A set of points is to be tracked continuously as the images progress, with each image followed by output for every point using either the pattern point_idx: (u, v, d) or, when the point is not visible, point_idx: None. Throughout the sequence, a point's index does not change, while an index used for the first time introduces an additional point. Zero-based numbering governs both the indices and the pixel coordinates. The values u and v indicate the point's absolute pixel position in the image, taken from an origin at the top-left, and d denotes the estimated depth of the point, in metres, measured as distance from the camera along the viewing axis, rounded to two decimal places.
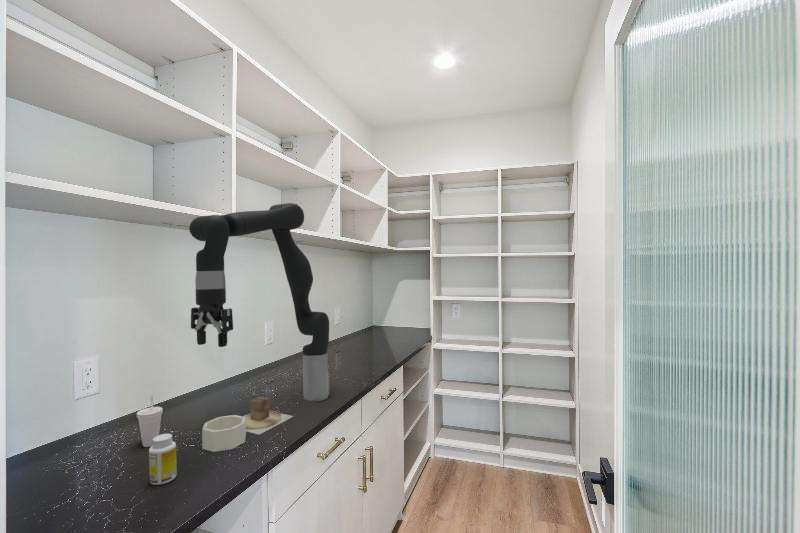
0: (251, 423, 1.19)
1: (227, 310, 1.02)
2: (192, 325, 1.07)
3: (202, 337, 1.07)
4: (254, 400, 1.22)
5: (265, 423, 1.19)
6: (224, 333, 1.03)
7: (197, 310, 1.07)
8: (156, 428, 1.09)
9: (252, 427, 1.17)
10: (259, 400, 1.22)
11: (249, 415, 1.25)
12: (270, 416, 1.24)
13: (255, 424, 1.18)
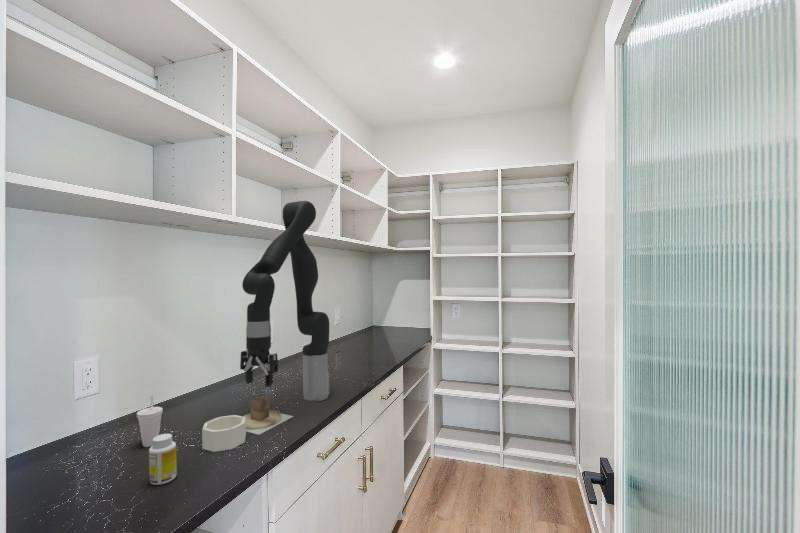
0: (251, 423, 1.19)
1: (273, 355, 1.20)
2: (241, 366, 1.25)
3: (250, 377, 1.25)
4: (254, 400, 1.22)
5: (265, 423, 1.19)
6: (270, 375, 1.20)
7: (246, 353, 1.25)
8: (156, 428, 1.09)
9: (252, 427, 1.17)
10: (259, 400, 1.22)
11: (249, 415, 1.25)
12: (270, 416, 1.24)
13: (255, 424, 1.18)
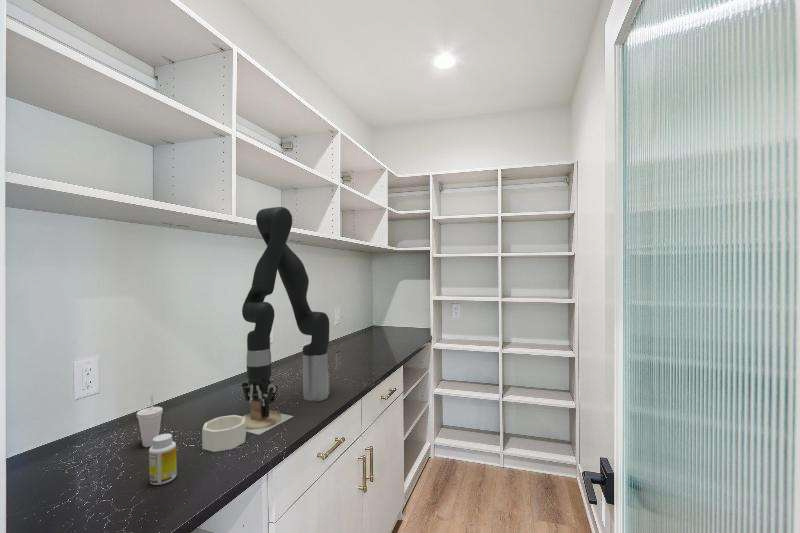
0: (251, 423, 1.19)
1: (274, 388, 1.20)
2: (247, 398, 1.24)
3: None
4: (254, 400, 1.22)
5: (265, 423, 1.19)
6: (267, 405, 1.21)
7: (247, 383, 1.25)
8: (156, 428, 1.09)
9: (252, 427, 1.17)
10: (259, 400, 1.22)
11: (249, 415, 1.25)
12: (270, 416, 1.24)
13: (255, 424, 1.18)
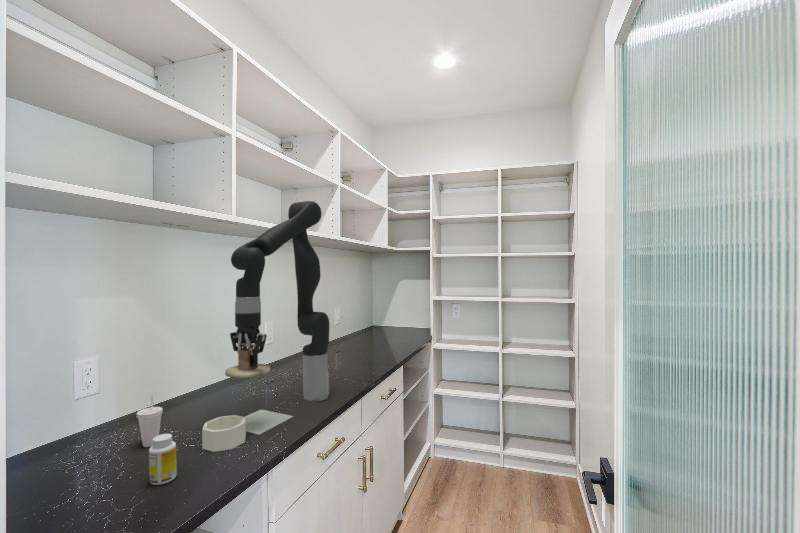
0: (238, 372, 1.14)
1: (263, 336, 1.16)
2: (235, 348, 1.19)
3: None
4: (242, 350, 1.18)
5: (253, 372, 1.14)
6: (255, 355, 1.17)
7: (235, 333, 1.20)
8: (156, 428, 1.09)
9: (239, 375, 1.12)
10: (247, 350, 1.18)
11: (237, 367, 1.21)
12: (259, 367, 1.19)
13: (242, 373, 1.13)
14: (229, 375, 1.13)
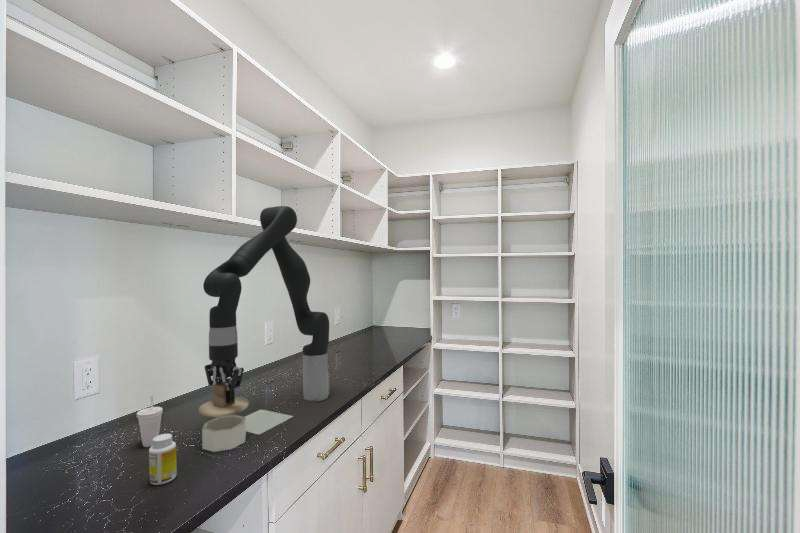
0: (213, 410, 1.04)
1: (239, 371, 1.06)
2: (210, 382, 1.10)
3: None
4: (217, 384, 1.08)
5: (229, 410, 1.04)
6: (231, 390, 1.07)
7: (210, 366, 1.11)
8: (156, 428, 1.09)
9: (213, 414, 1.02)
10: (223, 384, 1.08)
11: (213, 402, 1.11)
12: (236, 403, 1.10)
13: (217, 411, 1.04)
14: (202, 414, 1.03)
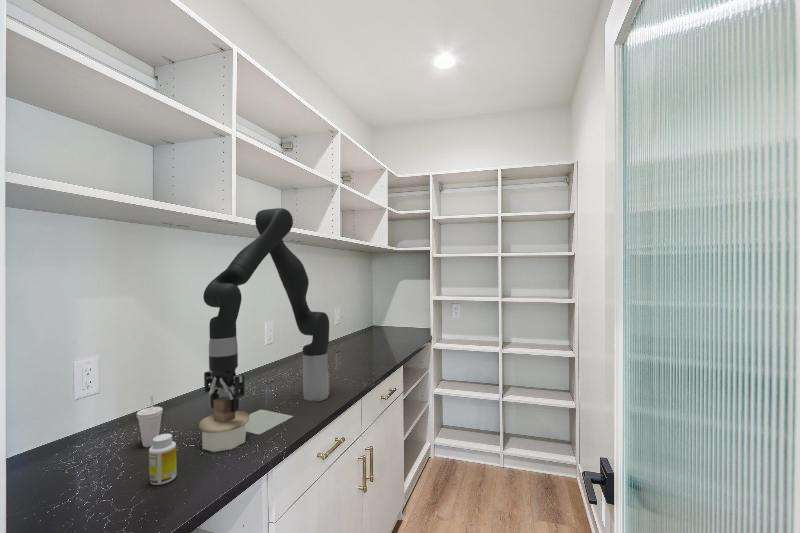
0: (213, 425, 1.04)
1: (240, 377, 1.06)
2: (206, 389, 1.10)
3: None
4: (218, 399, 1.08)
5: (229, 425, 1.04)
6: (236, 399, 1.06)
7: (210, 374, 1.11)
8: (156, 428, 1.09)
9: (213, 430, 1.02)
10: (223, 399, 1.08)
11: (213, 416, 1.11)
12: (236, 417, 1.10)
13: (217, 427, 1.04)
14: (203, 430, 1.03)
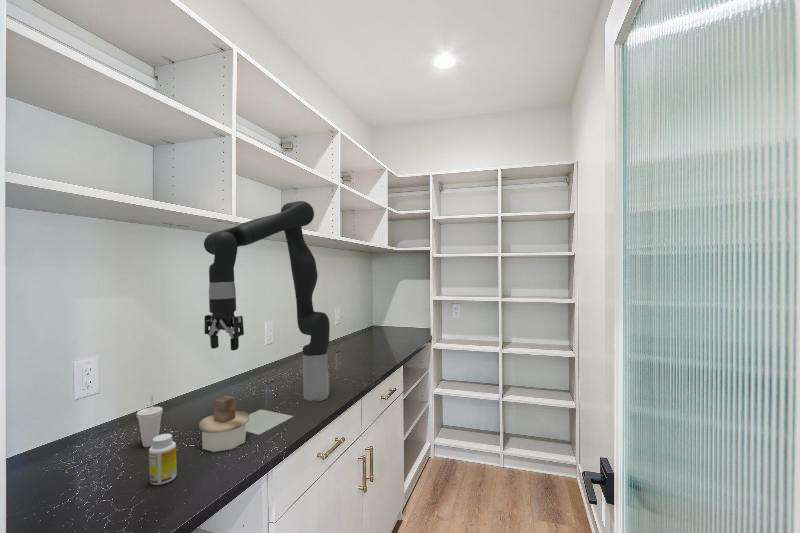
0: (213, 425, 1.04)
1: (238, 317, 1.14)
2: (206, 331, 1.18)
3: (215, 341, 1.19)
4: (218, 399, 1.08)
5: (229, 425, 1.04)
6: (236, 338, 1.14)
7: (210, 317, 1.19)
8: (156, 428, 1.09)
9: (213, 430, 1.02)
10: (223, 399, 1.08)
11: (213, 416, 1.11)
12: (236, 417, 1.10)
13: (217, 427, 1.04)
14: (203, 430, 1.03)
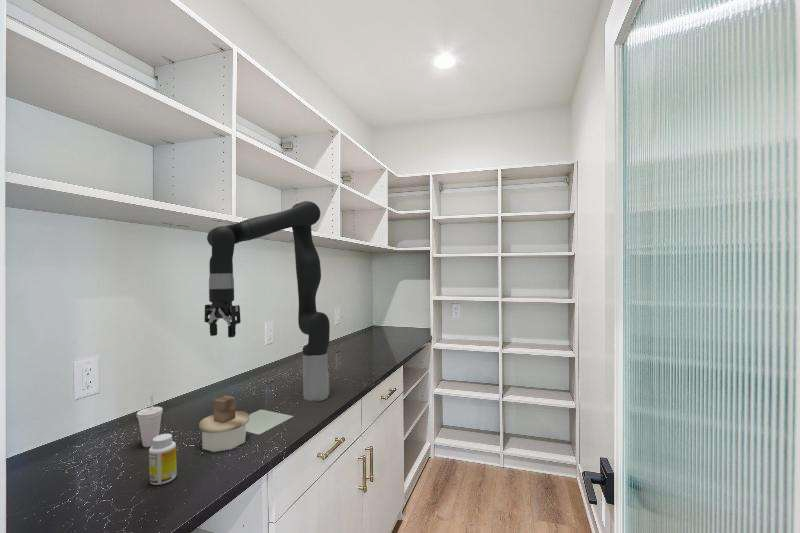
0: (213, 425, 1.04)
1: (235, 306, 1.22)
2: (205, 319, 1.26)
3: (214, 329, 1.27)
4: (218, 399, 1.08)
5: (229, 425, 1.04)
6: (233, 326, 1.22)
7: (210, 306, 1.27)
8: (156, 428, 1.09)
9: (213, 430, 1.02)
10: (223, 399, 1.08)
11: (213, 416, 1.11)
12: (236, 417, 1.10)
13: (217, 427, 1.04)
14: (203, 430, 1.03)
